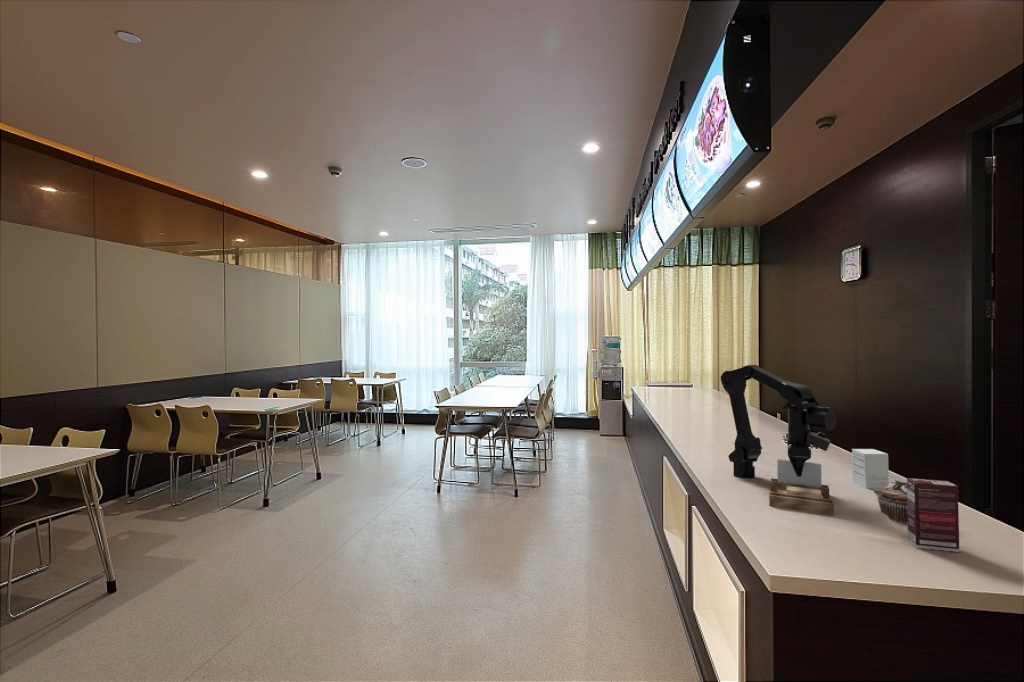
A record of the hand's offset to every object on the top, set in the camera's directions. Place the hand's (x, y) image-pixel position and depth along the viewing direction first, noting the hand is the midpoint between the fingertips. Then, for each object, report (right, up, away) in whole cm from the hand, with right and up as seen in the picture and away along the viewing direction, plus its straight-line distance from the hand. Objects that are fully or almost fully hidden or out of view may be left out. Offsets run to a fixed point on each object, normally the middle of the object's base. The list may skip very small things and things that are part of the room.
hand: (798, 472), depth 152 cm
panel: (0, -6, 0) cm, 6 cm away
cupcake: (+17, -8, -19) cm, 26 cm away
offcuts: (-4, -6, -7) cm, 10 cm away
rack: (-4, -7, -7) cm, 11 cm away
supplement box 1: (+28, -7, +7) cm, 30 cm away
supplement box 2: (+10, -8, -38) cm, 40 cm away
